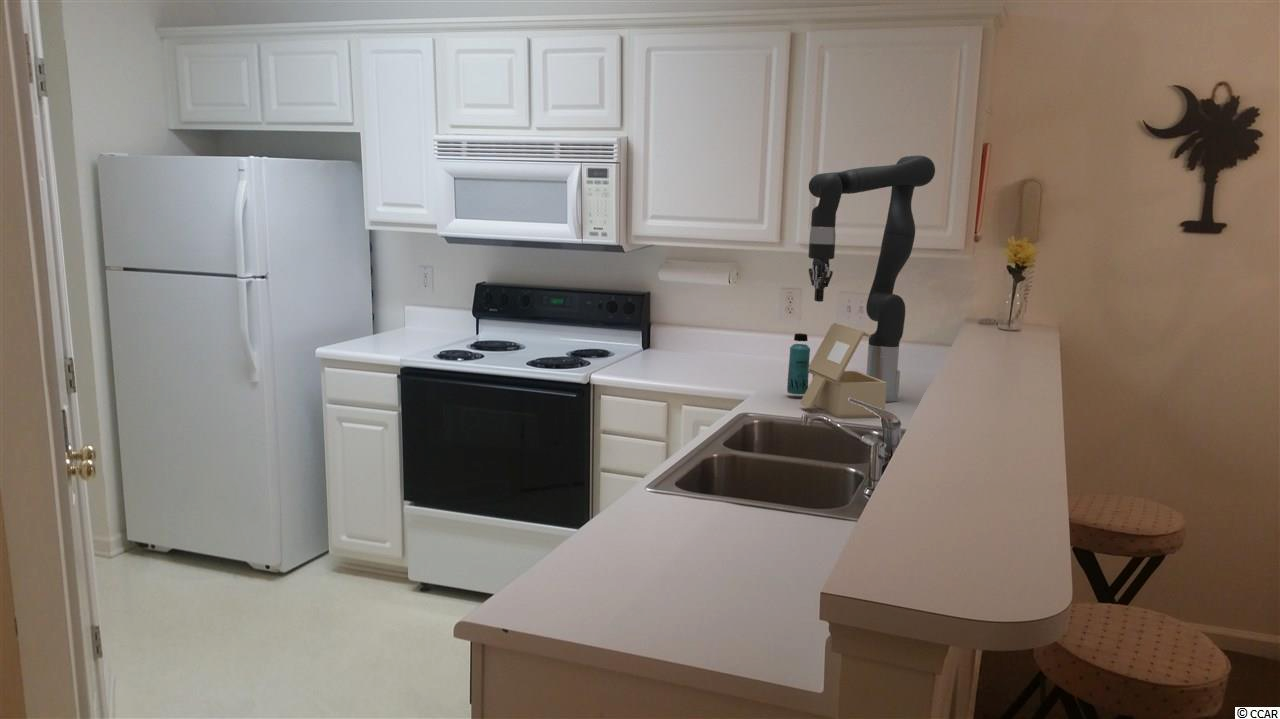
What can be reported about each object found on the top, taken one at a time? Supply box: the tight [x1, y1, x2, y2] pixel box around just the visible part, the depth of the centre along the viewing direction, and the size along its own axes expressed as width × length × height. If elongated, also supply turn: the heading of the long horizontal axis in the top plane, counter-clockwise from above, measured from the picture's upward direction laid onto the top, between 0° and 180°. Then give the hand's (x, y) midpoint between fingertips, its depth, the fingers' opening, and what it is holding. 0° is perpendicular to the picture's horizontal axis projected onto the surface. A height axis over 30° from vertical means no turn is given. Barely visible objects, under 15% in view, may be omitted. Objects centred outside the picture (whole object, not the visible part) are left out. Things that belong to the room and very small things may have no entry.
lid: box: [799, 322, 871, 410], centre depth 273 cm, size 26×21×3 cm
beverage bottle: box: [786, 332, 811, 395], centre depth 292 cm, size 6×7×20 cm
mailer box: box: [812, 370, 887, 419], centre depth 275 cm, size 14×20×10 cm
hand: (818, 301), depth 280 cm, fingers closed
